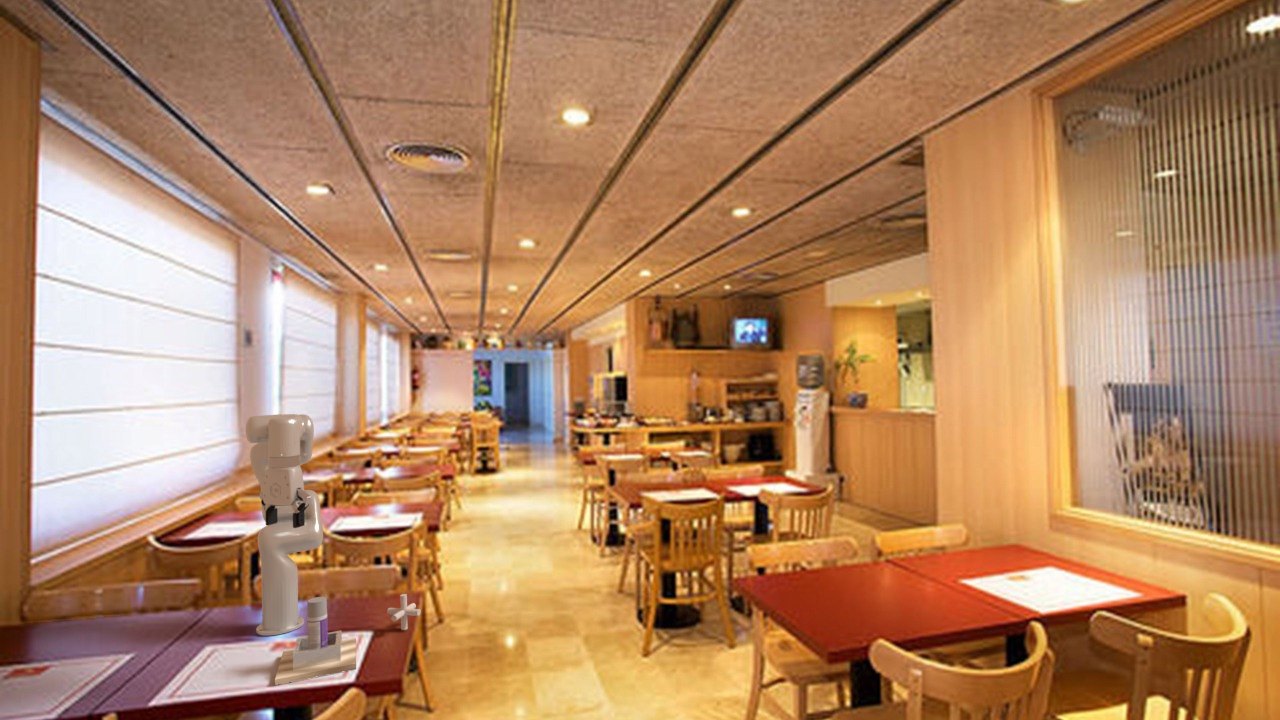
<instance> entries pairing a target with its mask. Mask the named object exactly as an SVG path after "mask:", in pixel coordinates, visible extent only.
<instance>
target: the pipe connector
mask: <svg viewBox="0 0 1280 720" xmlns="http://www.w3.org/2000/svg"><path fill="white" fill-rule="evenodd" d="M399 597H400V598H399V600H400V602H399V603H400V607H388V608H387V609H386V610H387V611H386V613H387V615H392V616H391V617H390V618H391V621H392V622H397V621H398V620H400V630H401V631H406V630H408V627H409V626H408V616H413V617H414V616H417V617H418V616H420V615H421V612H422V611H421V608H416V607H417V605H416V603H414V602H412V603H410V604H408V594H407V593H402V594H400V595H399Z"/></svg>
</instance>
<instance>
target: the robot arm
mask: <svg viewBox="0 0 1280 720" xmlns="http://www.w3.org/2000/svg"><path fill="white" fill-rule="evenodd" d="M314 433H315V427H314V423H313V420H312V418H311V417H310V415H308V414H303V413H302V414H295V413H287V414H286V413H285V414H267V415H266V414H265V415H252V416H250V417H248V419H247V421H246V424H245V436H246V440H247V441H248V442H249V443H250V444H254V445H253V446H252V447H251V449H250V451H249V452H250V453H249V457H250V459H249V461H250V466H251V469H252V471H253V473H254V475H255V477H256V479H257V481H258V484H259V487H260V492H259V494H258V495H259V498H260V499H259V500H260V503H261V513H262V518H263V521H264V522H265V525H264V527H262V528H261V529H260V530H259V532H258V534H257V546H258V551H259V556H260V567H261V570H260V572H261V617H262V618H261V621H262V623H260V624H259V625H258V626H257V627H256V629H255V631H256V632H255V633H256V634H257V635H259V636H277V635H283V634H285V633H286V634H288V633H290V632H294V631H296V630H298V629H299V628H301V627H303V625H305V619H304V617H302V616H299V586H298V584H299V581H298V576H299V575H298V572H299V571H298V570H299V569H298V565H297V563H296V562H295V561H294V560H293V559H292V558H291V557H290V556H289V555H290V554H293V553H294V554H295V553H298V552H299V553H300V552H305V551H312V550H316V549H318V548H319V547H320V546H321V545H322V544H323V541H324V531H323V522H322V521H323V520H322V514H321V505H320V504H321V503H320V498H319V495H318V493H317V492H316V491H315V490H311V489H305V487H304V486H305V485H304V484H305V483H304V477H303V476H304V475H303V470H302V466H301V465H303V464H307V463H308V462H310V461H311V459H312V455H313V447H314V445H313V444H314V436H315V434H314Z"/></svg>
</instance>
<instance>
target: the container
mask: <svg viewBox="0 0 1280 720" xmlns="http://www.w3.org/2000/svg"><path fill="white" fill-rule="evenodd" d="M327 600H328V599H327V596H317V597H316V596H315V597H313V598H310V599H308V600H307V613H306V614H307V616H306V617H307V618H306V619H307V637H308V649H314V648H319V647H324V646H328V633H329V632H328V626H329V625H328V608H327V607H328V606H327V605H328V601H327Z"/></svg>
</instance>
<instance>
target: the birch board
mask: <svg viewBox="0 0 1280 720" xmlns="http://www.w3.org/2000/svg"><path fill="white" fill-rule="evenodd" d="M293 652H294V648H293V649H288V650H283V651H282V654H281V657H280V661H279V664H278V668H277V671H276V674H275V675H276V676H275V678H274V686H275V685H277V686H279V685H278V684H282V685H284V684H283V683H287V684H290V683H289V682H291V683H296V682H300V680H301V681H304V680H305V679H306V680H309V679H308V678H311V679H314V678H313V677H316V676H321V677H323V676H322V675H326V676H328V675H327V674H330V675H334V673H335V674H339V672H340V673H343V672H342V671H345V672H348V670H350V671H354V669H355V670H356V669H357V637H353V638H346V639H342V649H341V661H337V662H332V663H327V664H322V665H317V666H312V667H307V668H302V669H297V670H293ZM316 678H317V677H316Z"/></svg>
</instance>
